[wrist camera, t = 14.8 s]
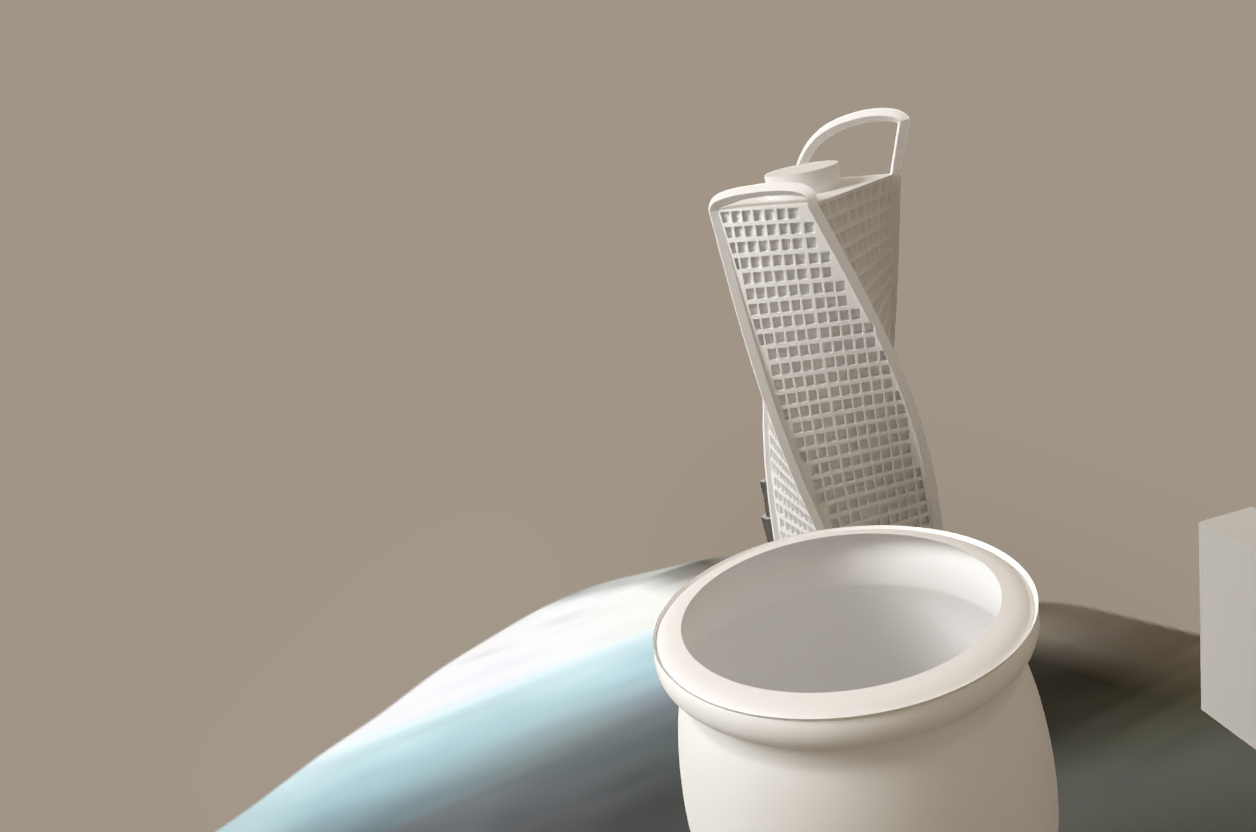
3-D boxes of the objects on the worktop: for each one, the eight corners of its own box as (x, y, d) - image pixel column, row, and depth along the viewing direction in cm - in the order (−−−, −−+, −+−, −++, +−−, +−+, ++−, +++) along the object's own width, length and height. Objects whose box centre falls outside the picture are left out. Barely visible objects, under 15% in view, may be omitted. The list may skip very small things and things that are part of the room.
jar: (940, 856, 41) (890, 491, 36) (1162, 1066, 31) (1131, 608, 27) (687, 980, 37) (597, 598, 33) (847, 1254, 28) (753, 773, 24)
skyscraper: (956, 684, 53) (883, 98, 44) (1005, 791, 45) (927, 107, 36) (785, 710, 53) (680, 140, 45) (804, 820, 46) (682, 157, 37)
